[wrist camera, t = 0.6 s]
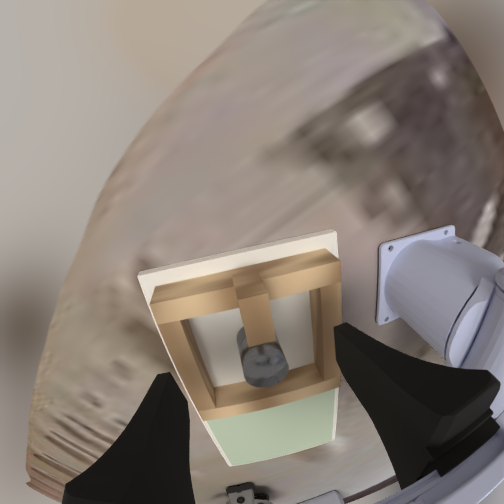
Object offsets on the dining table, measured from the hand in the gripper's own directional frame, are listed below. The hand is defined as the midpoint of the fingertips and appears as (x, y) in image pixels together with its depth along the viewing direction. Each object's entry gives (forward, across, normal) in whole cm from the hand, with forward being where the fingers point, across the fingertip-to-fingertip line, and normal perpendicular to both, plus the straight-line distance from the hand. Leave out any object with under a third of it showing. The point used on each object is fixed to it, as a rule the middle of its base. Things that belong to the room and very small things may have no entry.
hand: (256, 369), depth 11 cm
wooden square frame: (+9, 0, +5) cm, 10 cm away
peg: (+9, 0, +5) cm, 10 cm away
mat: (+9, 0, +19) cm, 21 cm away
